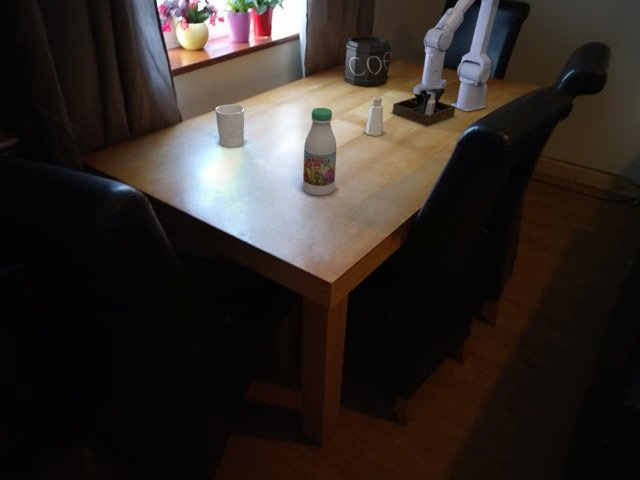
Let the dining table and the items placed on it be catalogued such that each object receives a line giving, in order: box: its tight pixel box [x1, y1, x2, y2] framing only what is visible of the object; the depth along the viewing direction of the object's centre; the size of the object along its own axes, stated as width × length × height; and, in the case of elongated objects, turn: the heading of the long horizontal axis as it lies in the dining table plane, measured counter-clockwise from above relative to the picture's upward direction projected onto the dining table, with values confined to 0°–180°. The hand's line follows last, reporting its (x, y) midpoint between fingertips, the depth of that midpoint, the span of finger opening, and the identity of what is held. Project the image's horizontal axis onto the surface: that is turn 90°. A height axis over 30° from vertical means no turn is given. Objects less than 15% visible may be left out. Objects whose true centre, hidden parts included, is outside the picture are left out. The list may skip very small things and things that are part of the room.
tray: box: [392, 96, 456, 127], centre depth 171 cm, size 15×15×3 cm
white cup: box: [215, 104, 245, 148], centre depth 144 cm, size 8×8×10 cm
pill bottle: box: [425, 91, 436, 115], centre depth 165 cm, size 5×5×8 cm
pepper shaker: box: [364, 96, 384, 137], centre depth 154 cm, size 5×5×11 cm
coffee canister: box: [344, 35, 392, 88], centre depth 198 cm, size 18×18×16 cm
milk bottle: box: [302, 107, 337, 196], centre depth 119 cm, size 8×8×20 cm
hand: (426, 111), depth 166 cm, fingers closed on pill bottle, 5 cm apart
